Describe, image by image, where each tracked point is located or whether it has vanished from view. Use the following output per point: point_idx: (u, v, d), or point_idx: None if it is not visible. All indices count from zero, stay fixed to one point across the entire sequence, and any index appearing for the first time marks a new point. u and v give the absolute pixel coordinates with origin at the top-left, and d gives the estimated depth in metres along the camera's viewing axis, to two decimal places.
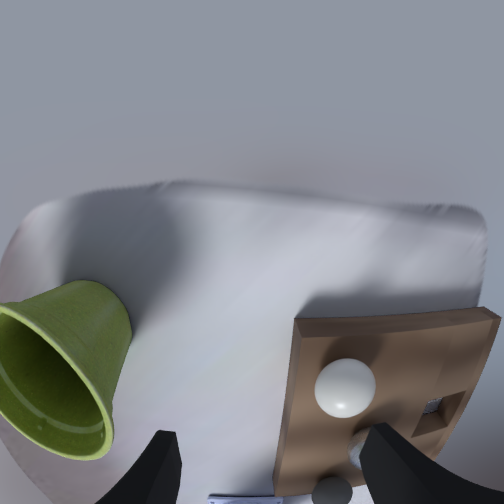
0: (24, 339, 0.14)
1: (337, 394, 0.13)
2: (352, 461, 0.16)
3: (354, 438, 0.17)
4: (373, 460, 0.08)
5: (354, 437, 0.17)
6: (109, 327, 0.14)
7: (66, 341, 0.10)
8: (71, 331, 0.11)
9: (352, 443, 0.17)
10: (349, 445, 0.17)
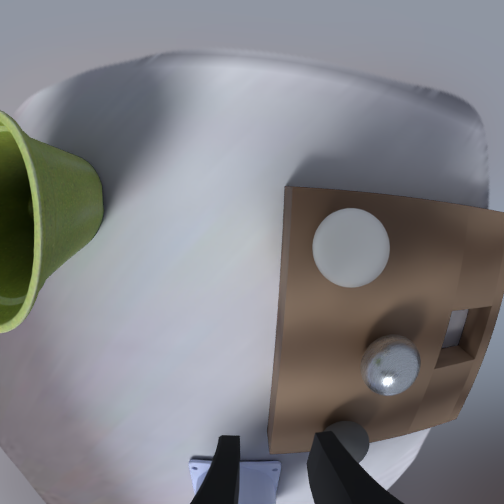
0: None
1: (342, 236, 0.11)
2: (369, 380, 0.14)
3: (369, 348, 0.15)
4: (316, 470, 0.08)
5: (368, 347, 0.15)
6: (75, 173, 0.12)
7: None
8: (33, 143, 0.09)
9: (366, 354, 0.14)
10: (363, 359, 0.15)
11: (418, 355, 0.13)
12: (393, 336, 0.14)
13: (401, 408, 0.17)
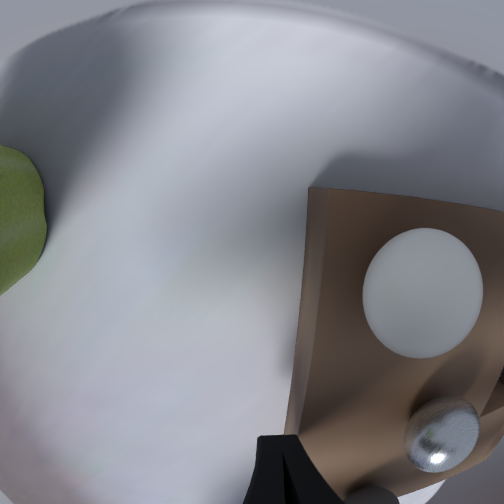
0: None
1: (427, 284, 0.06)
2: (416, 460, 0.08)
3: (419, 417, 0.09)
4: None
5: (418, 416, 0.09)
6: None
7: None
8: None
9: (416, 426, 0.09)
10: (410, 431, 0.09)
11: (479, 422, 0.07)
12: (451, 401, 0.08)
13: None
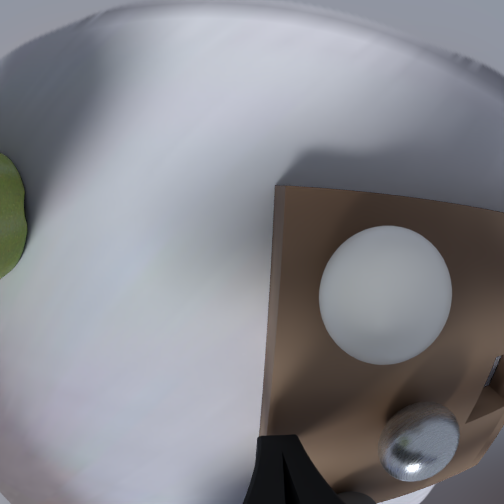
0: None
1: (379, 286, 0.05)
2: (389, 468, 0.08)
3: (393, 424, 0.09)
4: None
5: (392, 422, 0.09)
6: None
7: None
8: None
9: (389, 433, 0.09)
10: (383, 438, 0.09)
11: (458, 432, 0.07)
12: (428, 408, 0.08)
13: None
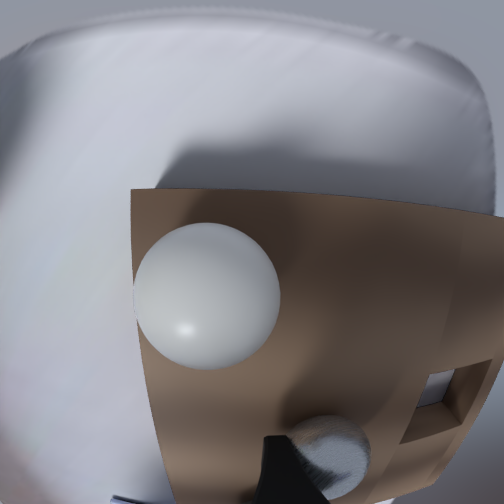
0: None
1: (151, 284, 0.06)
2: None
3: None
4: None
5: None
6: None
7: None
8: None
9: None
10: None
11: (367, 446, 0.08)
12: (325, 423, 0.09)
13: None
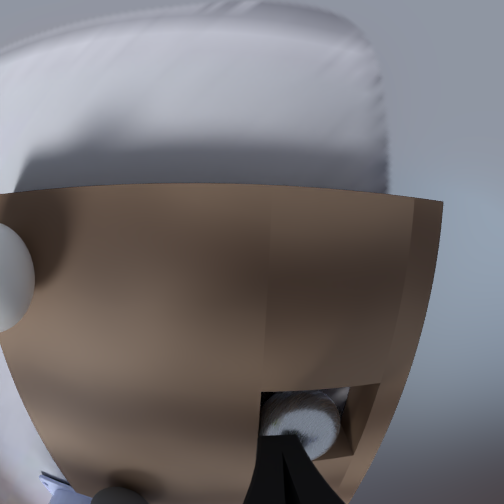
0: None
1: None
2: None
3: (329, 397, 0.11)
4: None
5: (330, 399, 0.11)
6: None
7: None
8: None
9: (327, 396, 0.11)
10: None
11: (262, 411, 0.11)
12: (302, 396, 0.10)
13: (218, 496, 0.11)
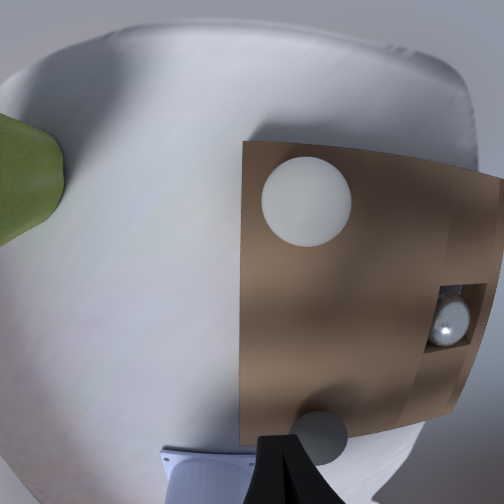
0: None
1: (288, 182, 0.10)
2: None
3: None
4: None
5: None
6: (32, 141, 0.11)
7: None
8: None
9: None
10: None
11: None
12: (452, 294, 0.15)
13: (387, 399, 0.16)
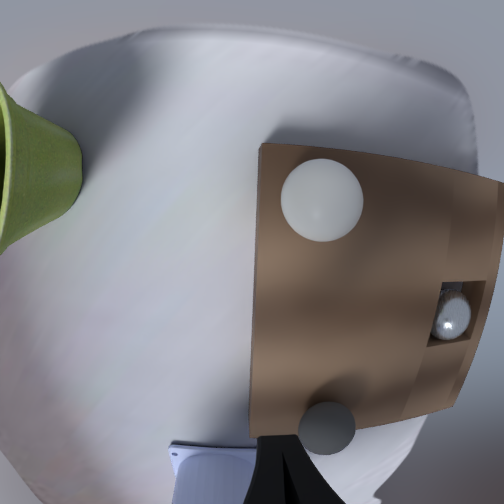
0: None
1: (308, 182, 0.11)
2: None
3: None
4: None
5: None
6: (54, 136, 0.12)
7: None
8: (15, 105, 0.08)
9: None
10: None
11: None
12: (454, 291, 0.16)
13: (392, 391, 0.17)
